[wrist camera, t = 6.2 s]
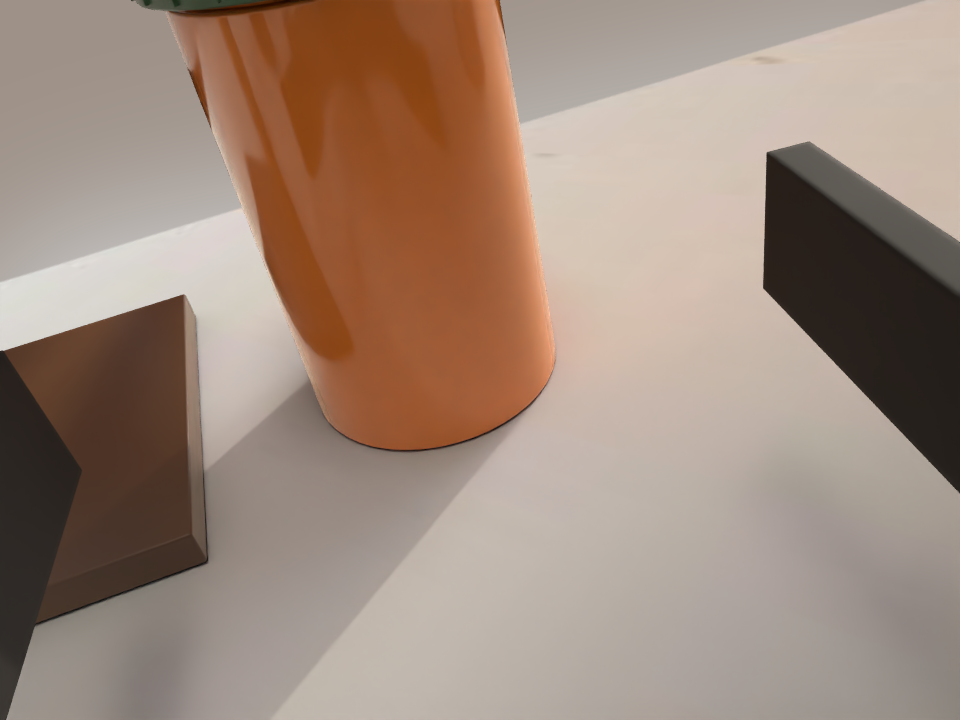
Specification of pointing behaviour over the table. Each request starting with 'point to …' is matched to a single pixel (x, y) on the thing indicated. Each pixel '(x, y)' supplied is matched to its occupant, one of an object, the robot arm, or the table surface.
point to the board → (123, 449)
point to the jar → (385, 204)
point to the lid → (190, 4)
